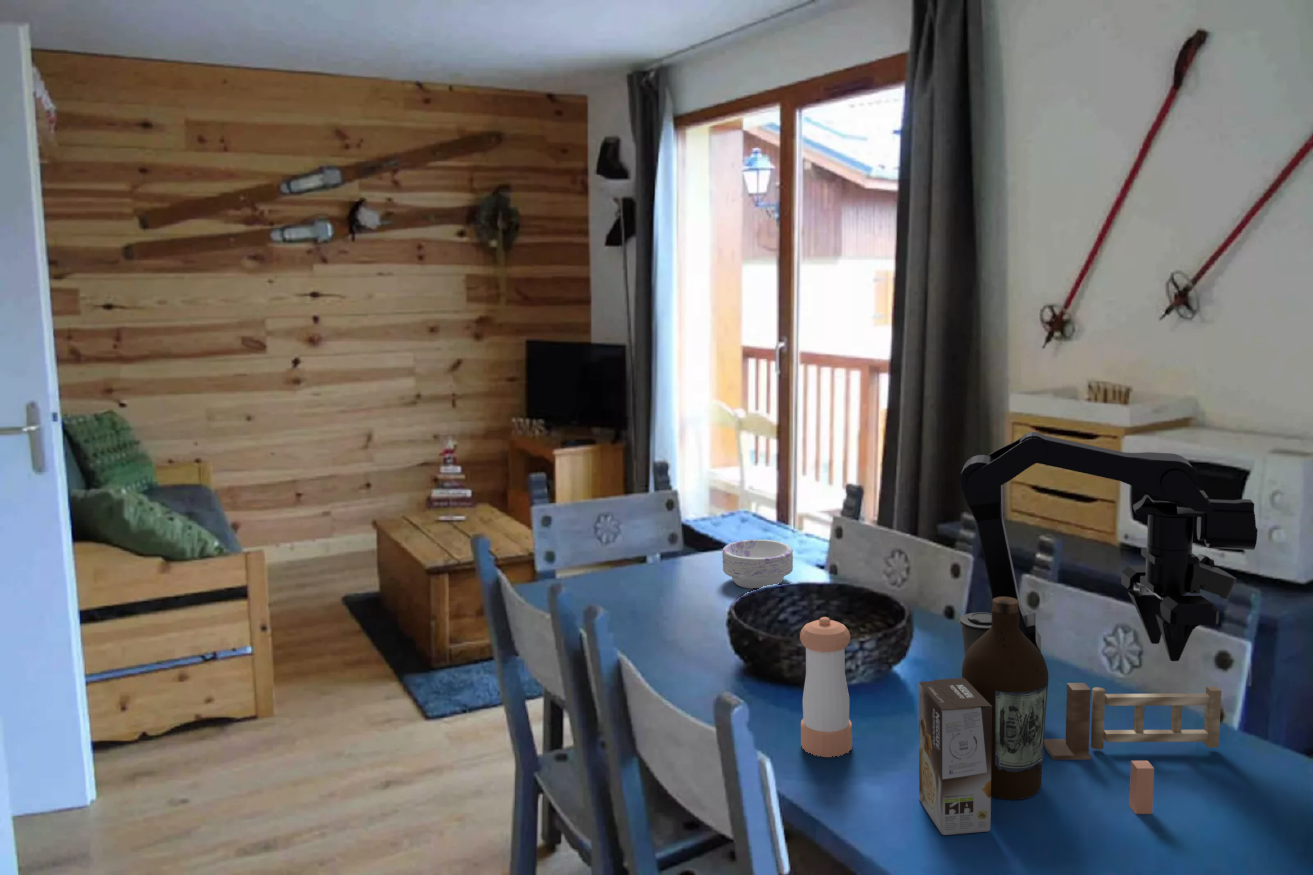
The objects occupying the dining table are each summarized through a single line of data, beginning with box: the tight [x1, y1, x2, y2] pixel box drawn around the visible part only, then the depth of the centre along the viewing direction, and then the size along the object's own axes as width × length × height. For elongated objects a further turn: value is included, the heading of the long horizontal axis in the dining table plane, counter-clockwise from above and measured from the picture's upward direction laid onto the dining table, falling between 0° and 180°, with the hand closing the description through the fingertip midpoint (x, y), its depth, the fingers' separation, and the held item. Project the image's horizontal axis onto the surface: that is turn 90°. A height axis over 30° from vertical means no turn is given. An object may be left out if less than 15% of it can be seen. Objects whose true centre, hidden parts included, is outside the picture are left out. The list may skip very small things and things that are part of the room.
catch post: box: [1128, 760, 1155, 815], centre depth 128 cm, size 2×2×6 cm
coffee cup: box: [957, 612, 992, 656], centre depth 172 cm, size 8×8×10 cm
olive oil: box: [961, 597, 1049, 801], centre depth 135 cm, size 11×11×25 cm
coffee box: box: [918, 677, 992, 836], centre depth 128 cm, size 9×6×16 cm
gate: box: [1090, 686, 1222, 751], centre depth 143 cm, size 17×2×8 cm, turn 86°
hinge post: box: [1043, 682, 1092, 761], centre depth 144 cm, size 5×5×10 cm
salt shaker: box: [799, 616, 853, 758], centre depth 148 cm, size 7×7×19 cm
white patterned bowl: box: [722, 539, 794, 590], centre depth 226 cm, size 15×15×8 cm
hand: (1164, 652), depth 148 cm, fingers open, 6 cm apart
